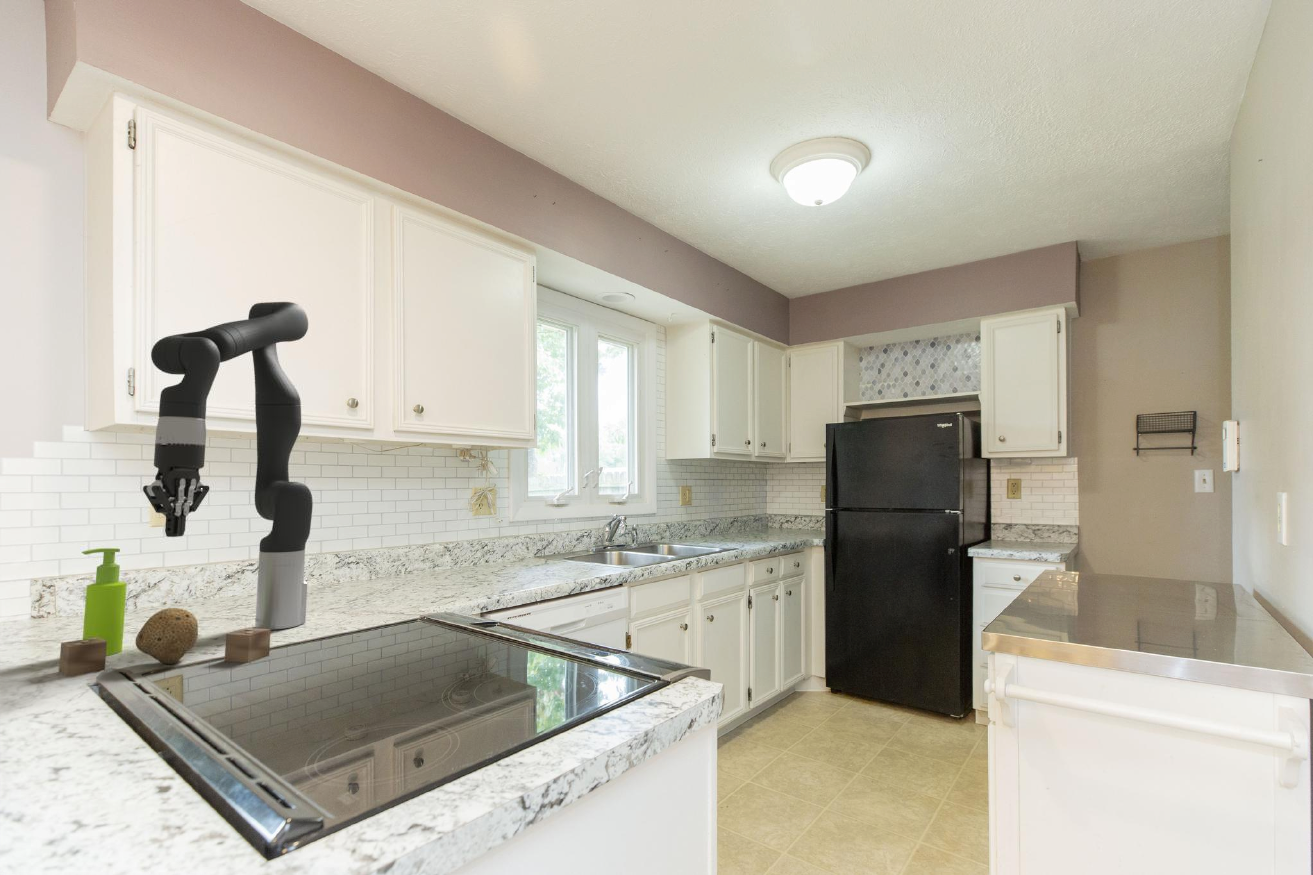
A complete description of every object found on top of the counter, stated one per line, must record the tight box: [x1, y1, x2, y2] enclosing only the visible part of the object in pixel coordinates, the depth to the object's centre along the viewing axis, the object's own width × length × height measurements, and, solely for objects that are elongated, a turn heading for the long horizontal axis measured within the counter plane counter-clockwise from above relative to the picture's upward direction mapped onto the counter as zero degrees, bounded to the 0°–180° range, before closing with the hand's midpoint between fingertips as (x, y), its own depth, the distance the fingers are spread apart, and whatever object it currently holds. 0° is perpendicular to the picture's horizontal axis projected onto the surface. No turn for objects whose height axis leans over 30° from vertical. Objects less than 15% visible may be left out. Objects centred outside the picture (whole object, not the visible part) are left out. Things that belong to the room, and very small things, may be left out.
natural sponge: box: [135, 607, 199, 665], centre depth 115 cm, size 9×9×10 cm
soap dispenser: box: [81, 547, 128, 657], centre depth 122 cm, size 6×7×20 cm
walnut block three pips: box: [58, 637, 107, 678], centre depth 111 cm, size 5×5×5 cm
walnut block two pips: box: [224, 627, 272, 664], centre depth 119 cm, size 5×5×5 cm
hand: (174, 536), depth 117 cm, fingers closed
